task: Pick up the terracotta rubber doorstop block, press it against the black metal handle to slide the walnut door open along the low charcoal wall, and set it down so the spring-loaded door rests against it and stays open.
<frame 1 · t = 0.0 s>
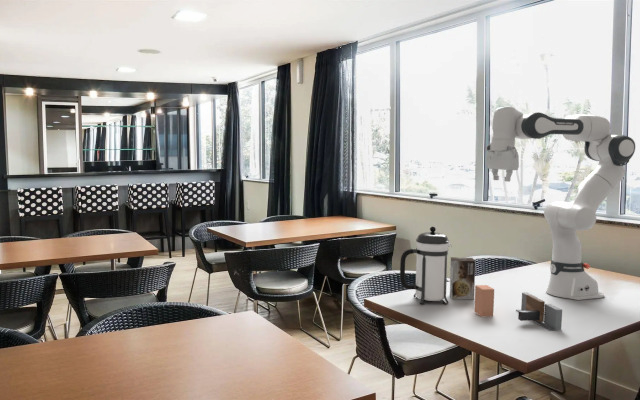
hand: (501, 180, 213), 48 cm above the table, tool pointing down, fingers open, 8 cm apart
door wall: (540, 319, 187), on the table
cookie box: (461, 297, 215), on the table
coffee press: (427, 301, 209), on the table
doorstop block: (483, 313, 193), on the table
sliding door: (525, 308, 185), point 4 cm above the table, slide at 0.0 cm
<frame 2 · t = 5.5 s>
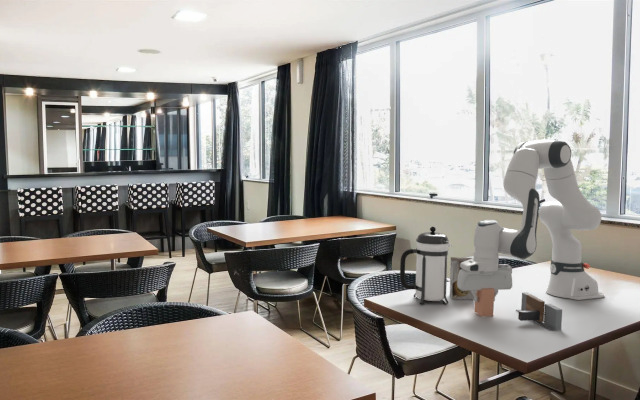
hand: (484, 301, 193), 5 cm above the table, tool pointing down, fingers closed on doorstop block, 4 cm apart
doorstop block: (483, 313, 193), on the table, touching gripper
everything else where it was.
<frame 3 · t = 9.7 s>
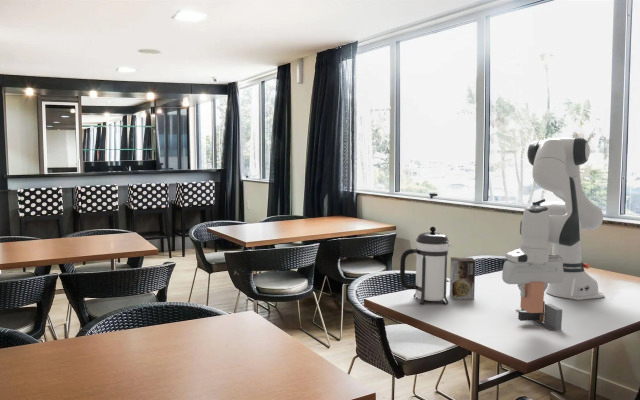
hand: (532, 296, 173), 12 cm above the table, tool pointing down, fingers closed on doorstop block, 4 cm apart
doorstop block: (531, 310, 174), point 7 cm above the table, touching gripper
everything else where it was.
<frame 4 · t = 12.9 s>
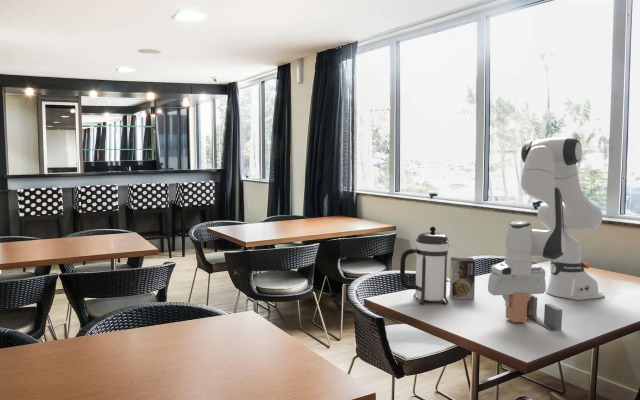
hand: (516, 306, 184), 5 cm above the table, tool pointing down, fingers closed on doorstop block, 4 cm apart
doorstop block: (515, 319, 184), point 1 cm above the table, touching gripper, sliding door
sliding door: (515, 302, 192), point 4 cm above the table, slide at 6.7 cm, touching doorstop block
everything else where it was.
when the fingers open (6 cm above the table, at t = 14.1 s): doorstop block stays where it is, resting on sliding door.
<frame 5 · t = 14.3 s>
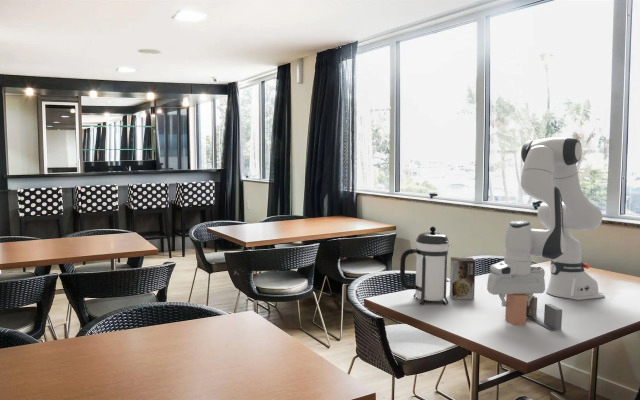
hand: (515, 305, 184), 6 cm above the table, tool pointing down, fingers open, 7 cm apart
doorstop block: (515, 321, 184), resting on sliding door
everything else where it was.
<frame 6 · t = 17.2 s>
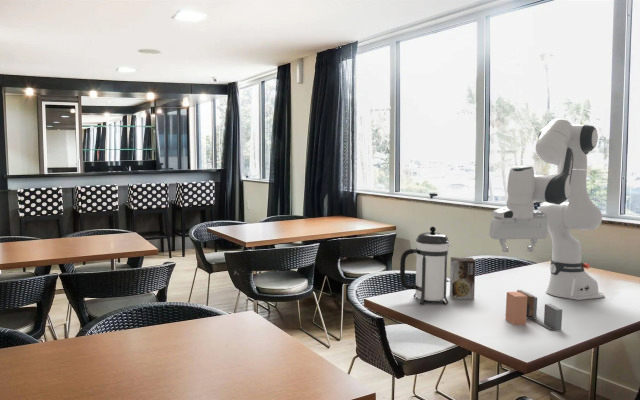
hand: (517, 251, 182), 25 cm above the table, tool pointing down, fingers open, 8 cm apart
nothing on the table moved.
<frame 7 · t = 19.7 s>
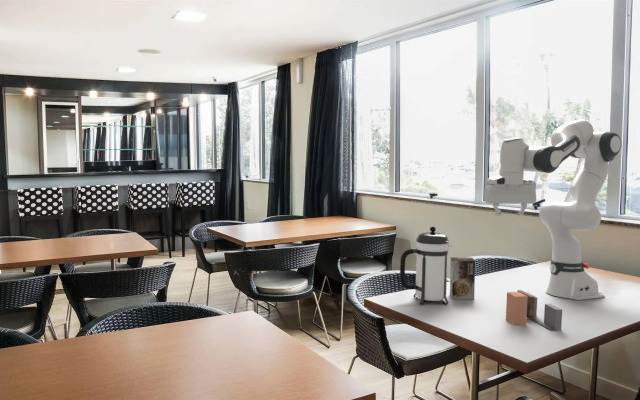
hand: (509, 215, 204), 35 cm above the table, tool pointing down, fingers open, 8 cm apart
nothing on the table moved.
at the end: sliding door slide at 6.3 cm; doorstop block inside the target area (0.7 cm from its centre), on the table; doorstop block tilted 0° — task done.
